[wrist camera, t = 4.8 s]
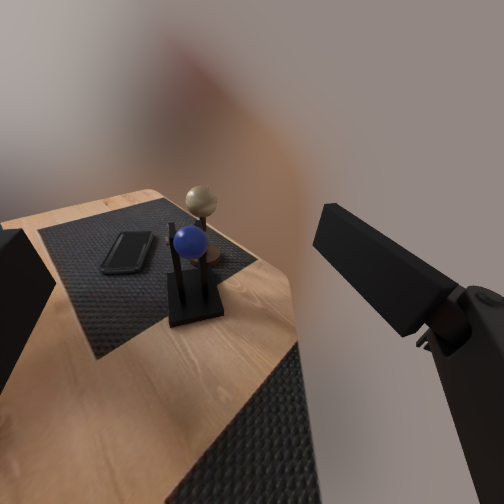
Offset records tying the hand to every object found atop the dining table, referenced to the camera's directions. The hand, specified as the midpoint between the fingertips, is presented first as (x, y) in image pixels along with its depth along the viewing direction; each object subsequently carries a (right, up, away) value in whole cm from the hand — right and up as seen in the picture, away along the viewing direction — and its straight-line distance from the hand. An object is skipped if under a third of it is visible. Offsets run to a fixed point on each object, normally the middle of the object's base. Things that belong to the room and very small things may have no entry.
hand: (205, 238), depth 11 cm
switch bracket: (-9, -9, +31) cm, 33 cm away
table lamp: (-9, -2, +40) cm, 41 cm away
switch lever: (-6, -1, +18) cm, 19 cm away
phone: (-26, -1, +40) cm, 47 cm away
